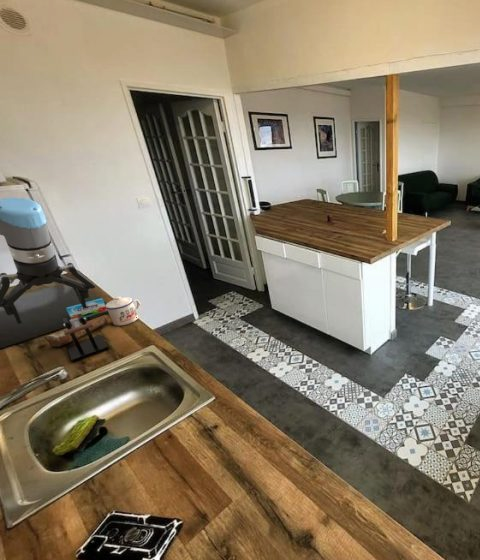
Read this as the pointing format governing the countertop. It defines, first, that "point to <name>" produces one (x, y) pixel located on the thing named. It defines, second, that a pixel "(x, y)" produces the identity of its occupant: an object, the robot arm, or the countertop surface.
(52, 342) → the bread
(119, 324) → the teacup with lid
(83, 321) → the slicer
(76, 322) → the slicer arm
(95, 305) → the blue printed flat box
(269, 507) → the countertop surface
